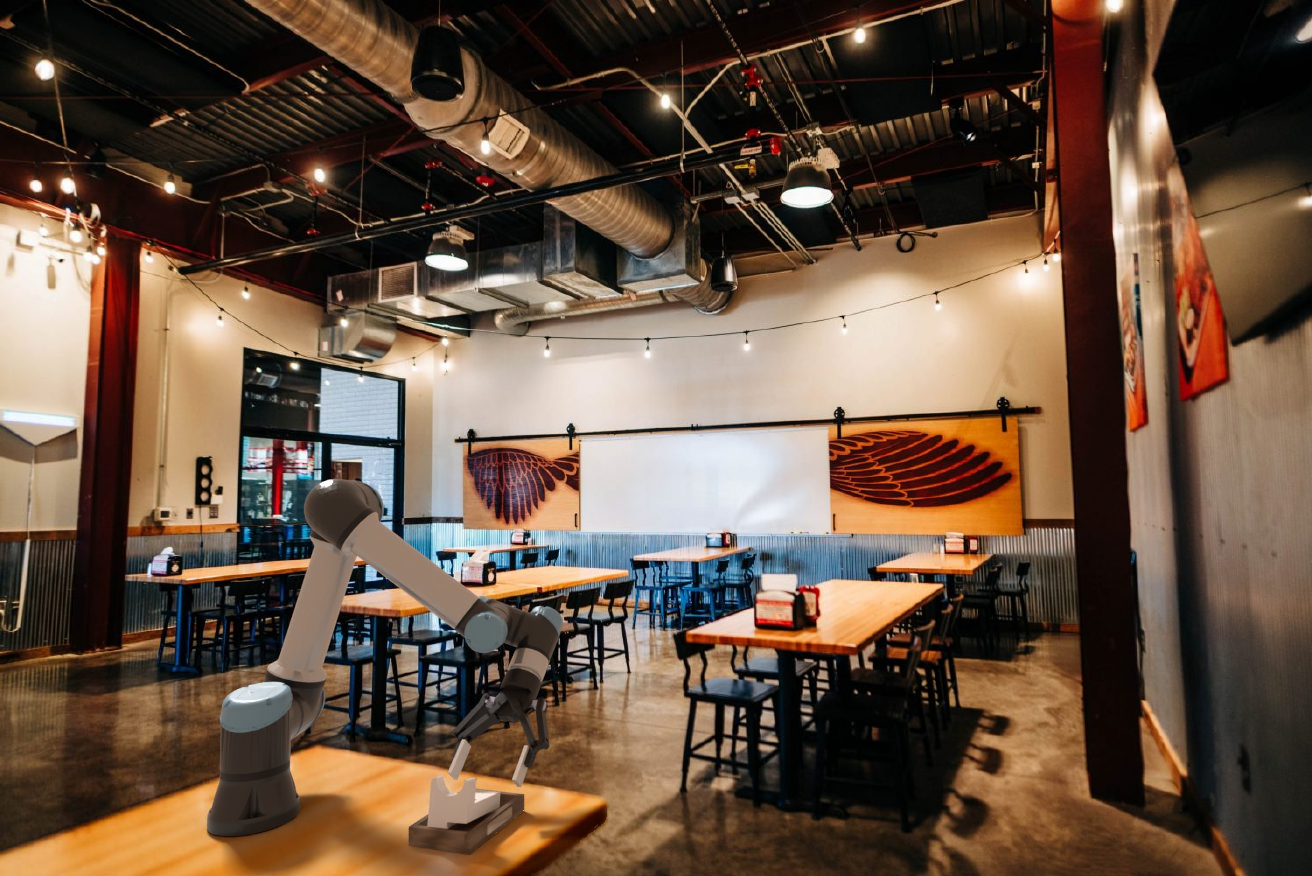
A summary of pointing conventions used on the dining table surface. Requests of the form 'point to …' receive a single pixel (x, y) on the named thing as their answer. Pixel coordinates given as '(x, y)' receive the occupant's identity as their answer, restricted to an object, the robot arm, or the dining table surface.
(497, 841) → the dining table surface
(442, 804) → the bracket
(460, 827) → the walnut tray
